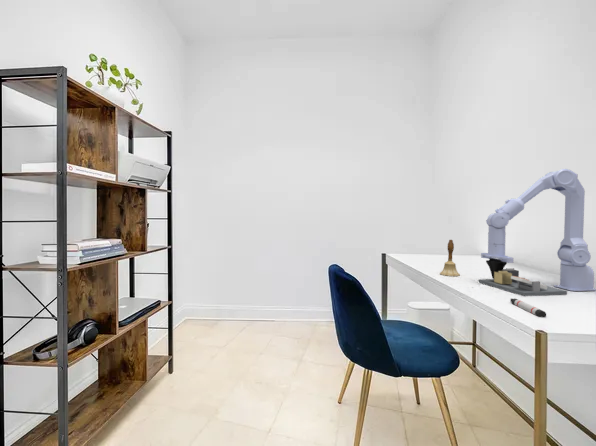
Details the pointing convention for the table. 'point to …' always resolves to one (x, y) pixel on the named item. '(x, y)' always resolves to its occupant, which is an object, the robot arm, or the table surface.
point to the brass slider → (503, 277)
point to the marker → (528, 308)
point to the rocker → (527, 281)
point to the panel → (524, 288)
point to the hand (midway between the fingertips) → (496, 278)
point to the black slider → (514, 272)
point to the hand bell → (450, 262)
